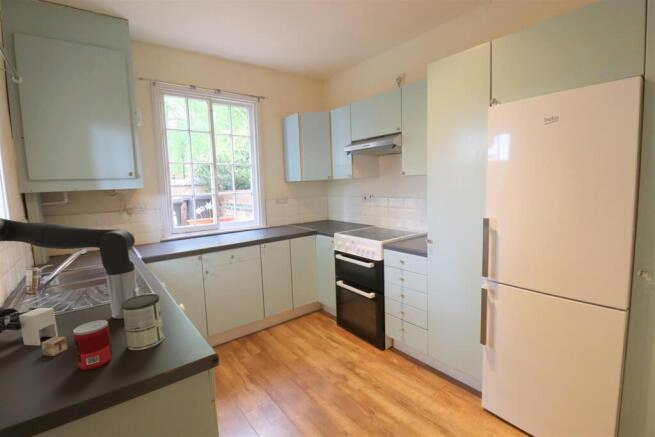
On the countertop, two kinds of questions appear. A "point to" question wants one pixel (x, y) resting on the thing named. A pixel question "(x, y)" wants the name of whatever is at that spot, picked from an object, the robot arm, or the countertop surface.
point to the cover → (38, 325)
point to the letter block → (54, 346)
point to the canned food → (92, 344)
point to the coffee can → (142, 321)
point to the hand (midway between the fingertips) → (34, 320)
